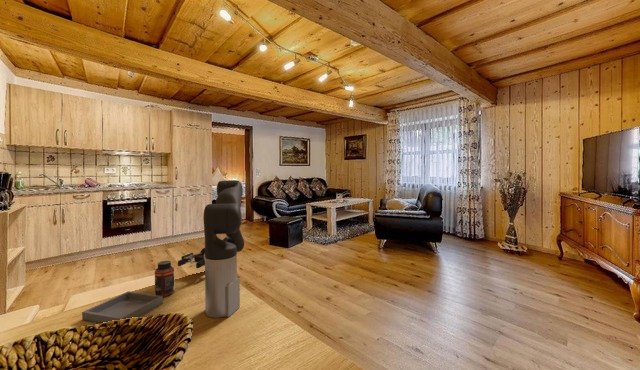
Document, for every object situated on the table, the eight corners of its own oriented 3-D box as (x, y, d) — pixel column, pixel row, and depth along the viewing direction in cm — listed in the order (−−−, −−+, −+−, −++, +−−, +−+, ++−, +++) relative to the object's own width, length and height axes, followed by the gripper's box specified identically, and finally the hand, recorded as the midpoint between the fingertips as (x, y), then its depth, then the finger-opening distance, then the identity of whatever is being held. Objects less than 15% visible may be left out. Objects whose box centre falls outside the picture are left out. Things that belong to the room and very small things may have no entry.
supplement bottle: (178, 290, 95) (177, 259, 95) (167, 298, 89) (166, 265, 89) (162, 289, 96) (162, 259, 95) (150, 297, 90) (150, 264, 89)
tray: (162, 303, 85) (162, 296, 85) (121, 327, 72) (120, 318, 72) (128, 298, 89) (128, 291, 89) (82, 320, 75) (82, 312, 75)
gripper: (199, 243, 120) (172, 253, 105) (227, 245, 117) (203, 256, 101) (200, 259, 121) (172, 272, 105) (227, 262, 117) (203, 275, 101)
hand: (187, 264), depth 103 cm, fingers open, 8 cm apart
